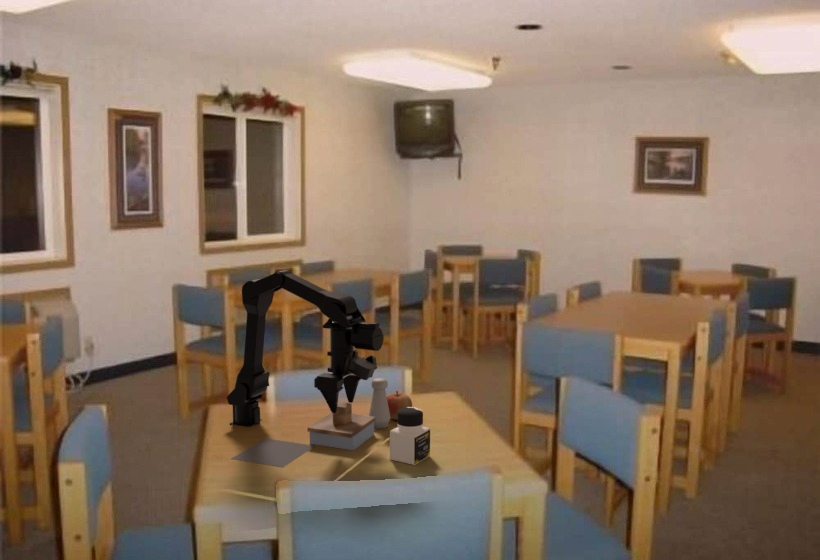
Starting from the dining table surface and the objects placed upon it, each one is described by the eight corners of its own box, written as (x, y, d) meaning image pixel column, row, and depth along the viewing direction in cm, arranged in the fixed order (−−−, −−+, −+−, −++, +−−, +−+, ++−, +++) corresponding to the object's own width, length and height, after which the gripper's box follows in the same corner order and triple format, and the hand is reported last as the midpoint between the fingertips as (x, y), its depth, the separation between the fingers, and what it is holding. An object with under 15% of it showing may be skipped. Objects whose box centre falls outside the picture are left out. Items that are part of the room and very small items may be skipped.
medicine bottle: (414, 465, 178) (415, 415, 176) (389, 459, 181) (389, 410, 180) (430, 456, 184) (430, 407, 182) (405, 450, 187) (405, 403, 186)
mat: (231, 461, 180) (231, 458, 180) (266, 440, 194) (266, 438, 194) (282, 469, 175) (282, 467, 175) (314, 448, 189) (314, 445, 189)
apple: (395, 425, 206) (395, 396, 205) (377, 417, 212) (377, 389, 211) (418, 419, 211) (418, 391, 210) (400, 412, 217) (400, 384, 216)
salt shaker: (387, 430, 202) (387, 382, 200) (366, 429, 203) (366, 381, 201) (392, 423, 207) (392, 376, 205) (371, 422, 208) (371, 375, 207)
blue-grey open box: (309, 445, 190) (309, 430, 190) (332, 430, 201) (332, 416, 201) (353, 452, 186) (353, 436, 185) (373, 436, 197) (373, 421, 196)
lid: (307, 431, 189) (307, 409, 188) (334, 414, 202) (333, 394, 201) (351, 437, 184) (351, 415, 184) (375, 420, 197) (375, 399, 196)
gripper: (354, 358, 179) (355, 422, 181) (386, 341, 196) (386, 401, 198) (312, 353, 183) (313, 416, 185) (347, 338, 200) (348, 396, 202)
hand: (342, 407), depth 192 cm, fingers open, 9 cm apart
